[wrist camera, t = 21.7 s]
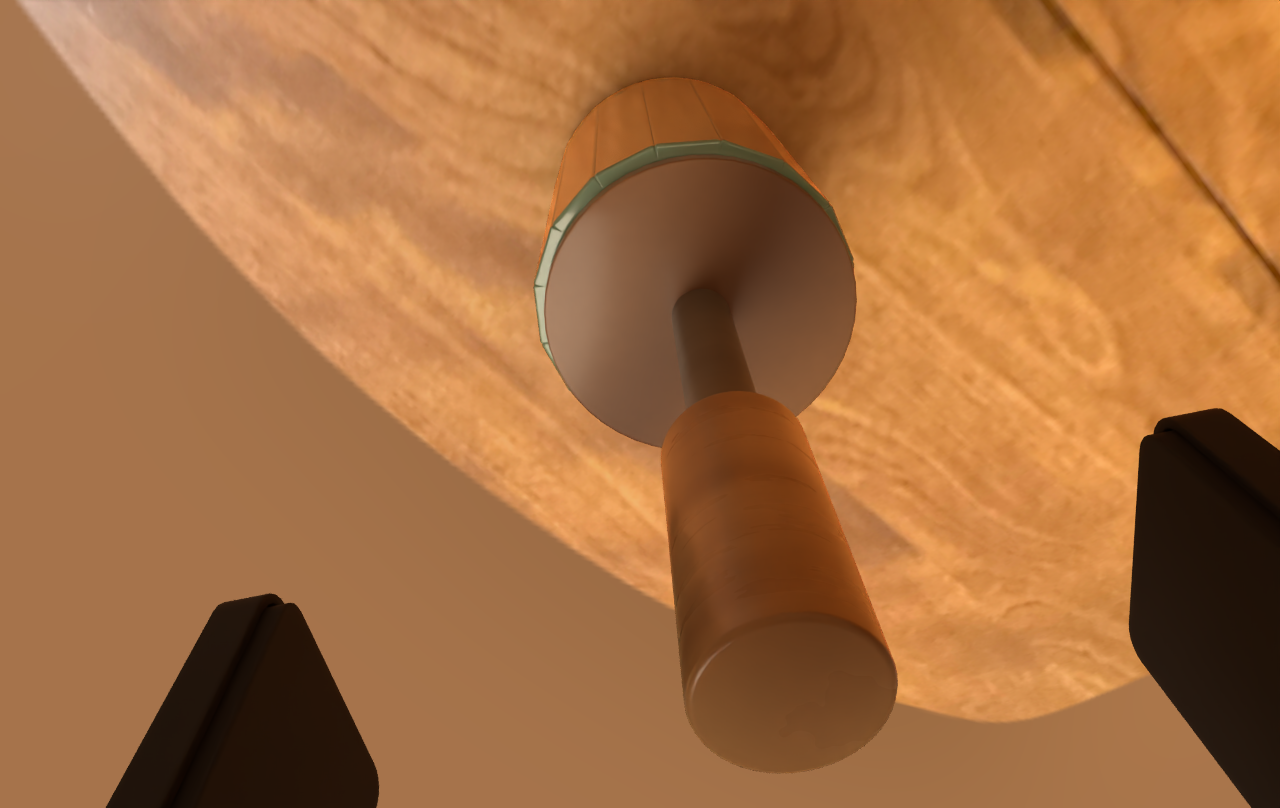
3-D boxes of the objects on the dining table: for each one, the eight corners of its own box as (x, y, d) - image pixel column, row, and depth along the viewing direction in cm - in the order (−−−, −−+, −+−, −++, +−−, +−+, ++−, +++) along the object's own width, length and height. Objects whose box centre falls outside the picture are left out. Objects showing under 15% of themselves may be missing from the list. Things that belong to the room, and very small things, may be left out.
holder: (531, 263, 28) (500, 395, 20) (596, 42, 25) (590, 93, 17) (733, 325, 29) (780, 474, 21) (817, 121, 26) (907, 203, 18)
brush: (537, 278, 27) (418, 848, 10) (599, 58, 24) (573, 340, 8) (740, 336, 28) (937, 941, 11) (821, 132, 25) (1240, 523, 9)
